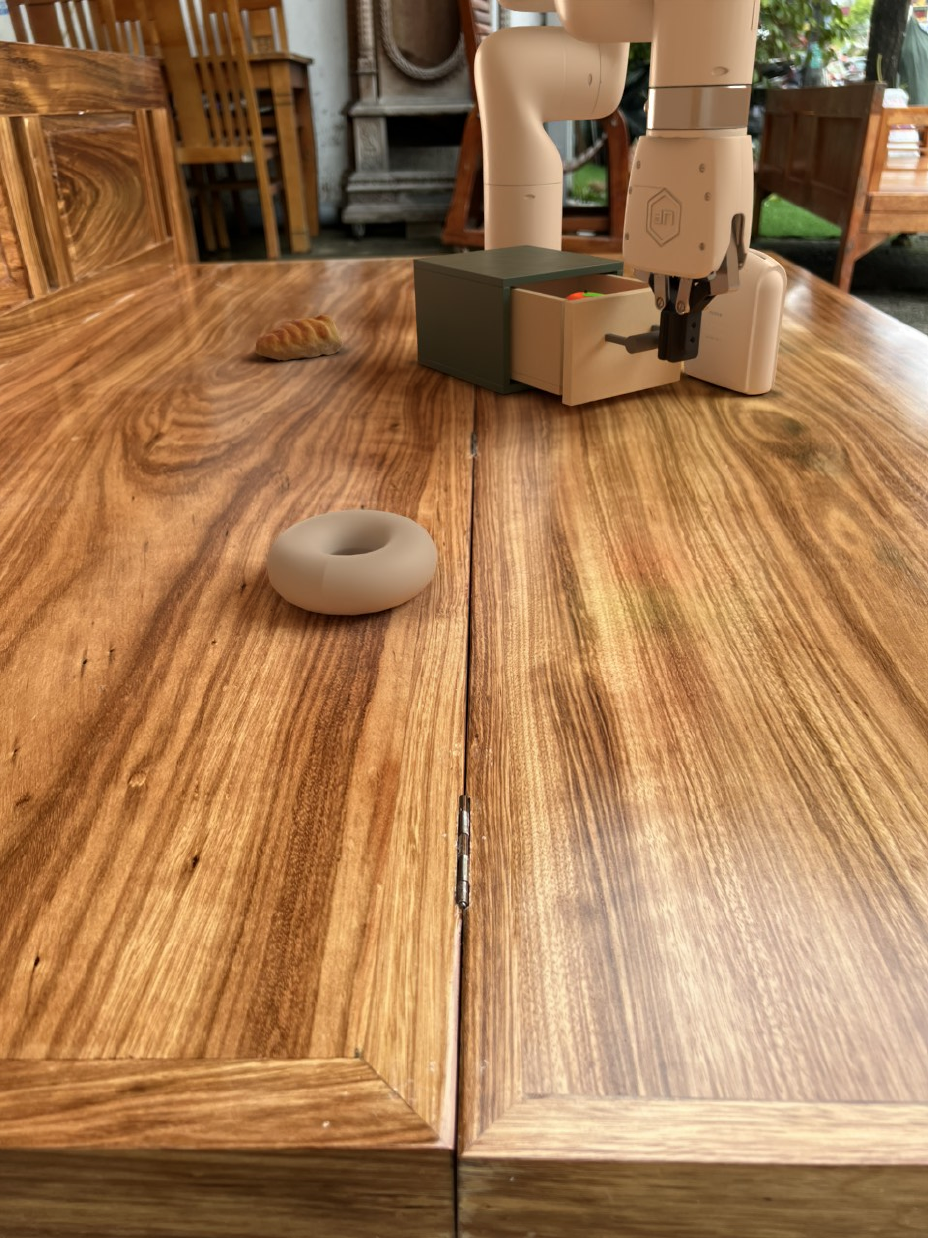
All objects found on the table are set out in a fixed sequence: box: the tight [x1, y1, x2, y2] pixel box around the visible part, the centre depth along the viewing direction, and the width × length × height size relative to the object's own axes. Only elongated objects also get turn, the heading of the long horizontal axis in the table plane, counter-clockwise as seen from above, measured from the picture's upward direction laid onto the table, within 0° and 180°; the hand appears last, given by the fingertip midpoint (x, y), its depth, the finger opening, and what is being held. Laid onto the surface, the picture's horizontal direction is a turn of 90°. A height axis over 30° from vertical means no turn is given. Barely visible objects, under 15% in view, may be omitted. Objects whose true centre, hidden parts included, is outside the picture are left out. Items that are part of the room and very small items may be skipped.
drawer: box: [510, 273, 682, 407], centre depth 89 cm, size 19×13×9 cm
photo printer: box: [683, 247, 788, 395], centre depth 90 cm, size 10×4×12 cm, turn 26°
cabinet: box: [412, 245, 625, 395], centre depth 98 cm, size 16×15×11 cm
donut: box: [265, 509, 439, 616], centre depth 56 cm, size 10×4×10 cm
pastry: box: [254, 314, 343, 362], centre depth 107 cm, size 9×7×4 cm
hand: (677, 358), depth 81 cm, fingers closed
